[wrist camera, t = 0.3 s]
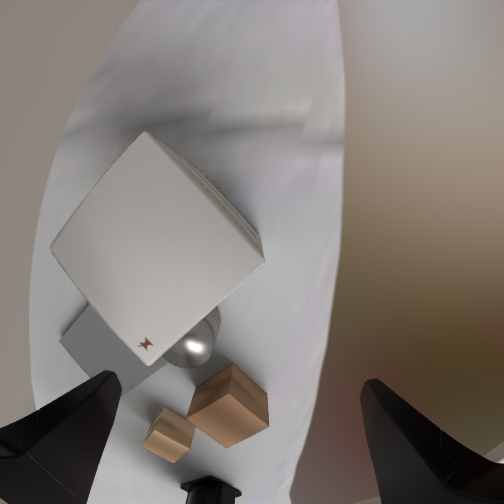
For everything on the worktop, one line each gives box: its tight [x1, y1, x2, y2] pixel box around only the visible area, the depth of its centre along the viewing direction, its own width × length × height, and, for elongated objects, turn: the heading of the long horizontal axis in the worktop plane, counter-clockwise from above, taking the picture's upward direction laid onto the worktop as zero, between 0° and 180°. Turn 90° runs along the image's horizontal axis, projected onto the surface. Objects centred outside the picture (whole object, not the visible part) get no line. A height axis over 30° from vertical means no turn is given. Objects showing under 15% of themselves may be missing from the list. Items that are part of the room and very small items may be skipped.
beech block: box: [141, 408, 196, 463], centre depth 23 cm, size 4×4×4 cm
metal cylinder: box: [162, 306, 221, 368], centre depth 21 cm, size 4×4×5 cm
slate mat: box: [59, 305, 168, 396], centre depth 24 cm, size 10×9×1 cm
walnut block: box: [186, 363, 269, 448], centre depth 22 cm, size 5×5×5 cm
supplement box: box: [50, 131, 265, 366], centre depth 16 cm, size 7×7×13 cm
